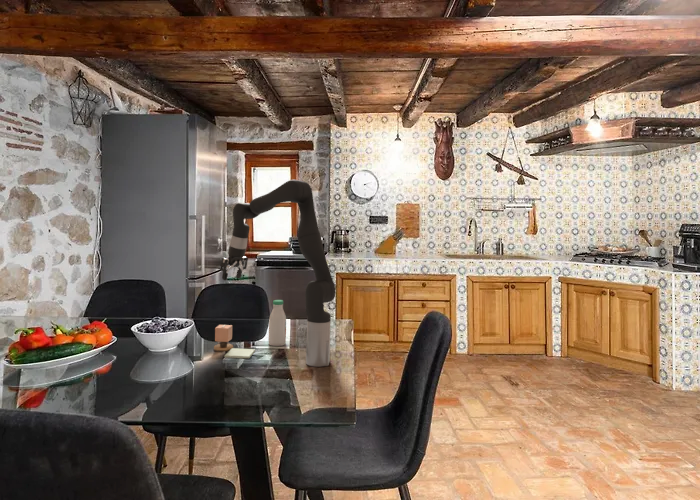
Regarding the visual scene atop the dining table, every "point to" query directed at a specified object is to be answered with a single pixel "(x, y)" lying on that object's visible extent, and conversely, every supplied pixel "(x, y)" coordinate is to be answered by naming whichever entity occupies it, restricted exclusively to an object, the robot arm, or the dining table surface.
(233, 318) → the dining table surface
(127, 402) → the dining table surface
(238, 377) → the dining table surface
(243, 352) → the pad
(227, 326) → the salmon orange cube
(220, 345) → the post
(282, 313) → the milk bottle
